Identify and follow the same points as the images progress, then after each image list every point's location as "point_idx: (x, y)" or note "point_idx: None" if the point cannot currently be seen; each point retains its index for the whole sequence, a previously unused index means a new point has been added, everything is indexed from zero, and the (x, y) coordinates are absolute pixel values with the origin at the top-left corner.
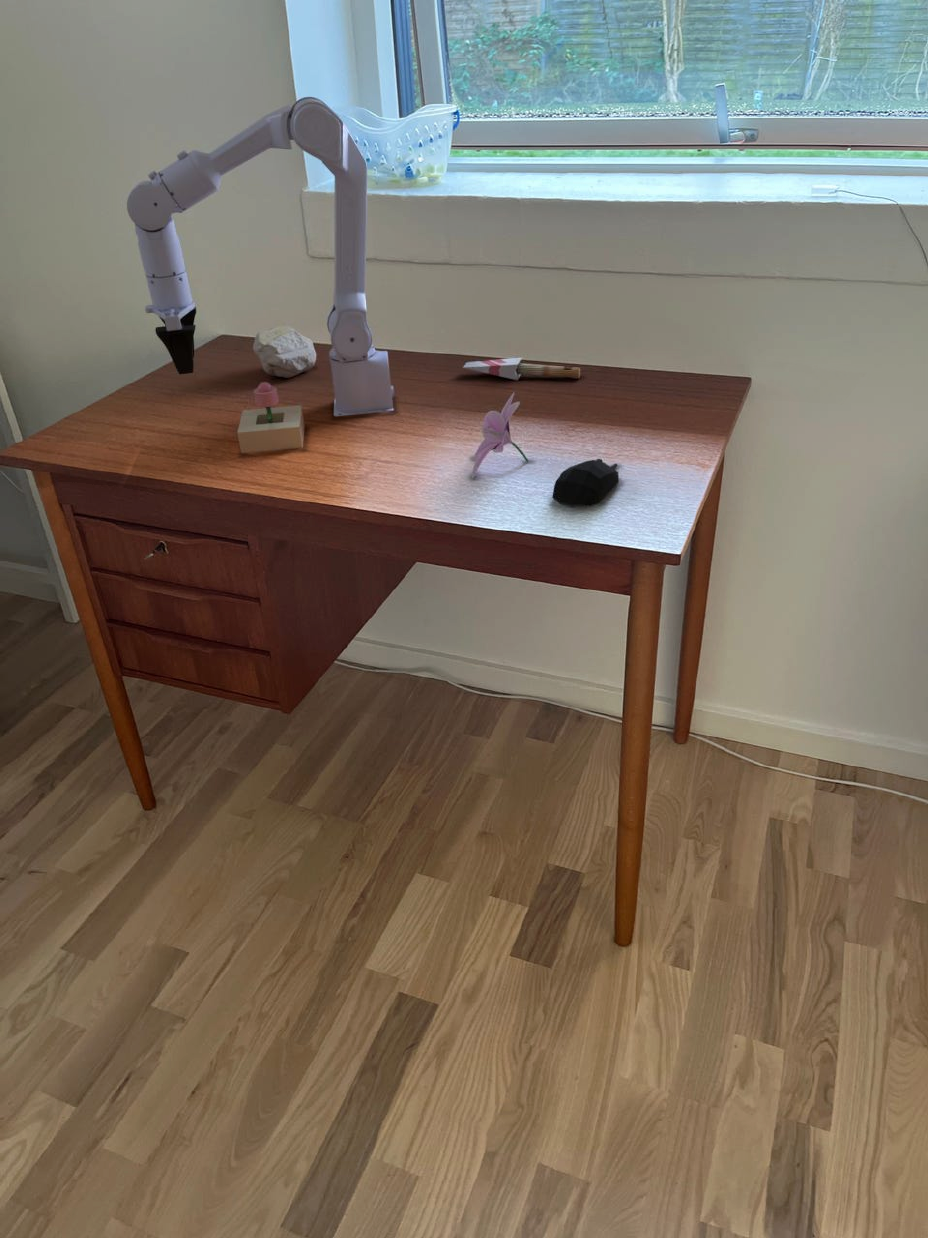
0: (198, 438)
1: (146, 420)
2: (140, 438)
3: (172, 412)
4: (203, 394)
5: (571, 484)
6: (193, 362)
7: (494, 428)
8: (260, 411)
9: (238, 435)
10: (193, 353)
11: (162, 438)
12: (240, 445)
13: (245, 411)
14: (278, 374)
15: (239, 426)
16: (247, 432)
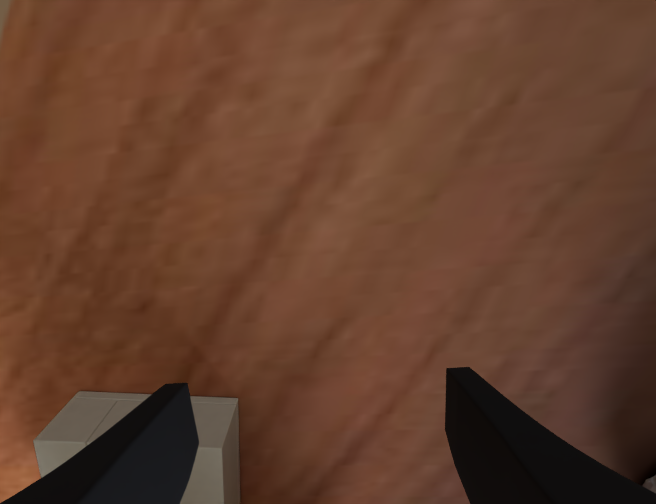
0: (236, 272)
1: (462, 77)
2: (285, 78)
3: (506, 167)
4: (641, 259)
5: None
6: (181, 491)
7: None
8: (199, 492)
9: (38, 435)
10: (451, 447)
11: (264, 159)
12: (59, 413)
13: (210, 455)
14: (647, 483)
15: (82, 444)
16: (39, 462)
